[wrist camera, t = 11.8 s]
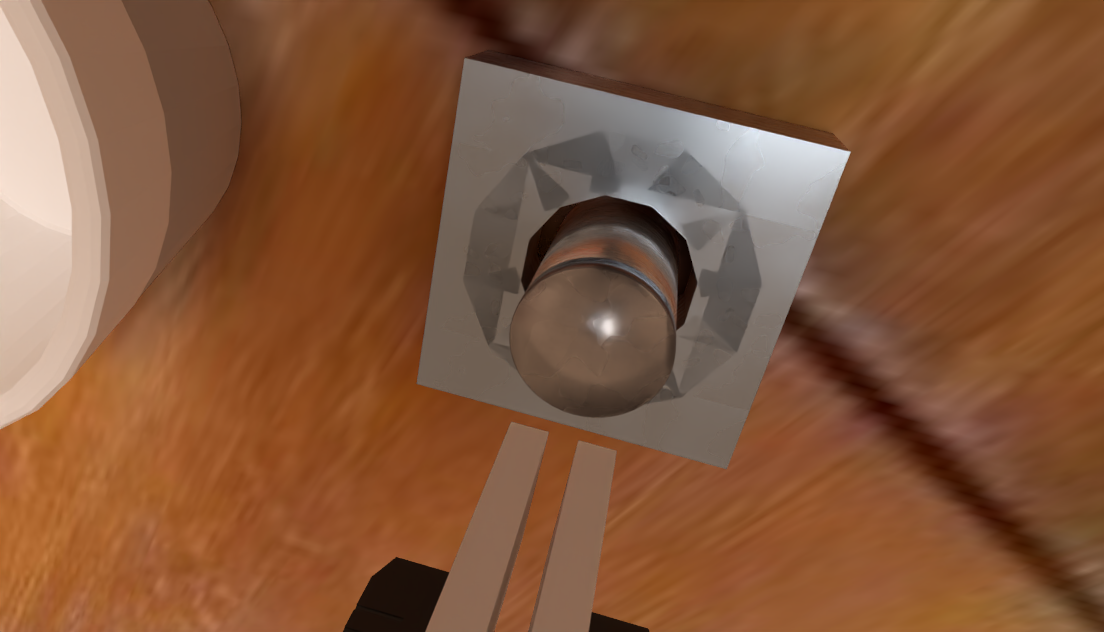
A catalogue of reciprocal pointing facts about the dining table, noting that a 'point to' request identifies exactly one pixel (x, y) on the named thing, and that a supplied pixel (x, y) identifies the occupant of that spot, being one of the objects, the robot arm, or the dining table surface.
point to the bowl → (100, 170)
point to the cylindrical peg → (601, 311)
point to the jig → (638, 176)
